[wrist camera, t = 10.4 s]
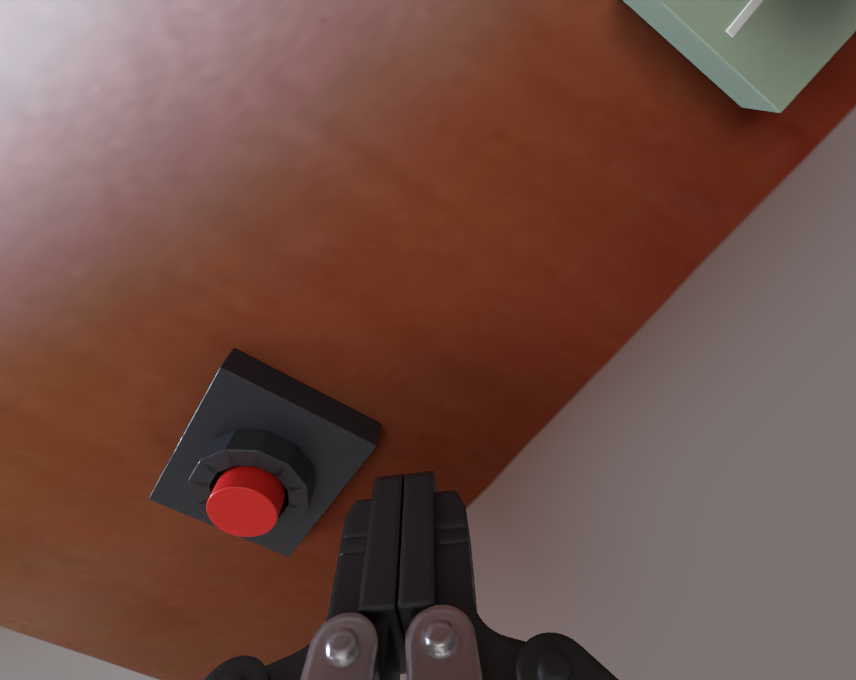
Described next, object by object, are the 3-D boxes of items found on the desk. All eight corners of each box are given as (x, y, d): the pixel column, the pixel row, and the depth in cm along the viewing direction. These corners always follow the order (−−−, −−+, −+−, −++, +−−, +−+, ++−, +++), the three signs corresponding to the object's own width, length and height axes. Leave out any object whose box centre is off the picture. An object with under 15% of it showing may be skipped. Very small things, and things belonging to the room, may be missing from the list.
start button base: (296, 531, 37) (282, 581, 34) (163, 474, 34) (133, 521, 31) (380, 423, 32) (374, 467, 29) (233, 347, 30) (206, 385, 26)
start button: (267, 523, 32) (259, 546, 30) (206, 497, 30) (195, 520, 29) (296, 483, 30) (289, 506, 28) (233, 454, 29) (222, 476, 27)
